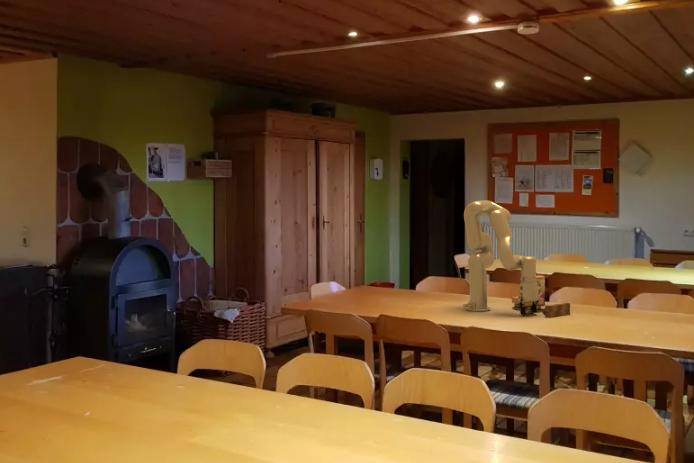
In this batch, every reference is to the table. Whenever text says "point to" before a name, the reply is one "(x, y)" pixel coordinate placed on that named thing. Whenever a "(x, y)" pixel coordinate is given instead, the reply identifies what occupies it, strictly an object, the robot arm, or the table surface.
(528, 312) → the roller
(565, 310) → the rail
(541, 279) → the candy bar box
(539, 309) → the roller track
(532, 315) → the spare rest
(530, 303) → the slab
